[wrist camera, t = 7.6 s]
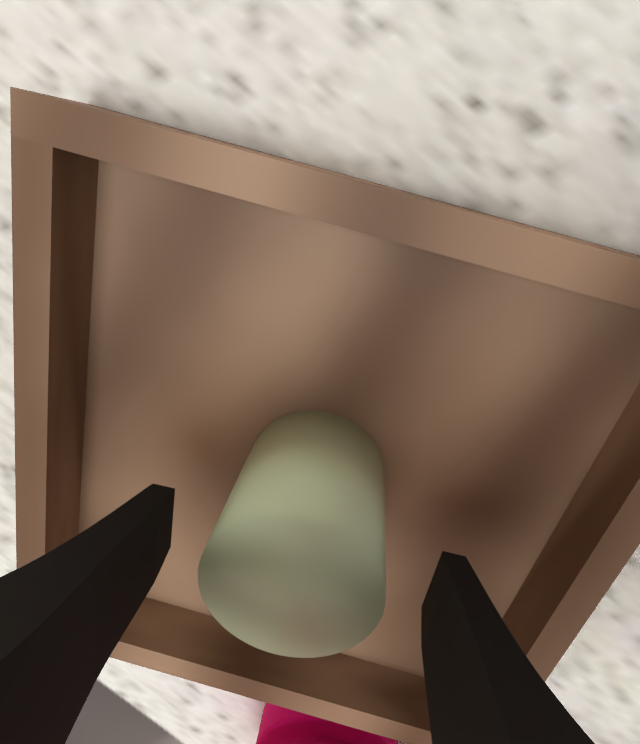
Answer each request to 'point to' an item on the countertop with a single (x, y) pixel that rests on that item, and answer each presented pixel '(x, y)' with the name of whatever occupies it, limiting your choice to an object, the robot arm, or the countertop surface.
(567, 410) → the serving tray
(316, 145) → the countertop surface
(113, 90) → the countertop surface
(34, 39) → the countertop surface
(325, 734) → the pepper mill
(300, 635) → the cucumber chunk
